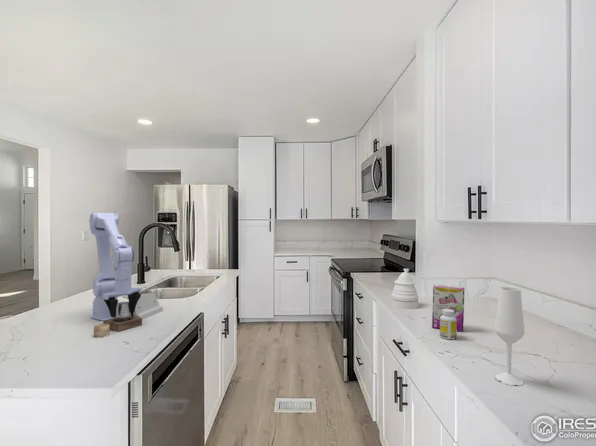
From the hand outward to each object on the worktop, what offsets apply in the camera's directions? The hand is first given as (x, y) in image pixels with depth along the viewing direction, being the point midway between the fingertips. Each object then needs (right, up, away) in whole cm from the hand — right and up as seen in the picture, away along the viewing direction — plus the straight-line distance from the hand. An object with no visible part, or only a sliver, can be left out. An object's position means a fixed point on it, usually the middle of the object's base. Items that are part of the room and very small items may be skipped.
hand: (122, 314), depth 130 cm
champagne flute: (+122, -6, -41) cm, 129 cm away
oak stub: (-2, -5, -10) cm, 11 cm away
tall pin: (0, -5, 0) cm, 5 cm away
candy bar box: (+125, -6, +2) cm, 126 cm away
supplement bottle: (+121, -6, -8) cm, 121 cm away
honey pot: (+120, -6, +38) cm, 126 cm away
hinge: (+1, -5, +16) cm, 17 cm away
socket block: (0, -4, 0) cm, 4 cm away
